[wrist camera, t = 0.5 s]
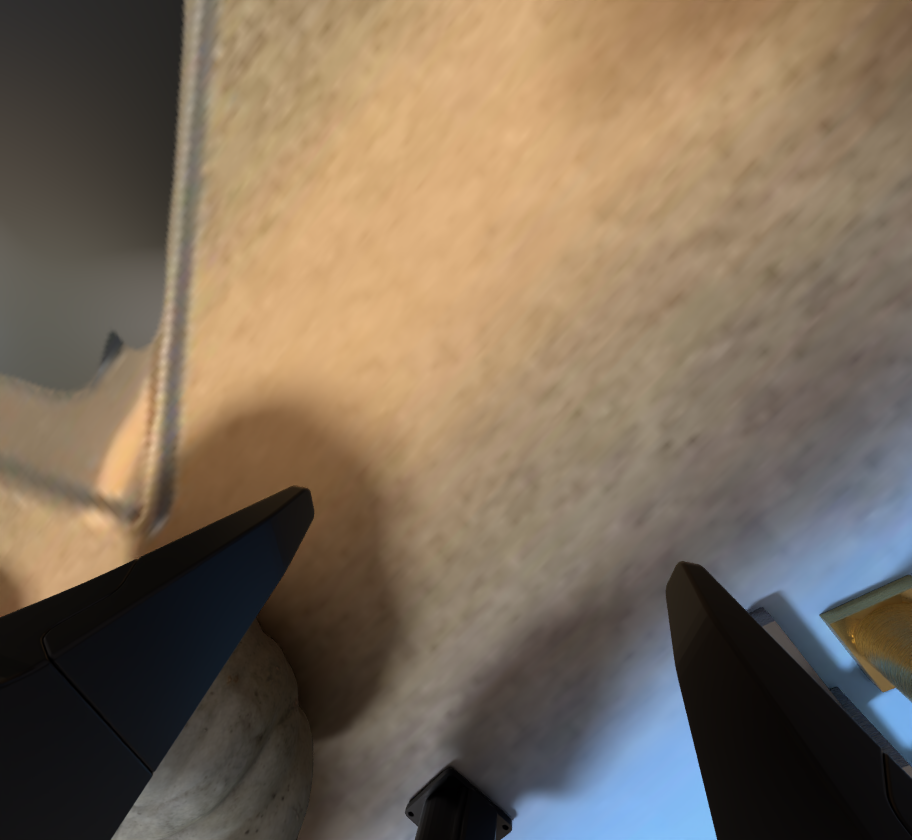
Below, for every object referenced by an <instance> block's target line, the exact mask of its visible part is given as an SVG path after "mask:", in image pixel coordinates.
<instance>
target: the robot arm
mask: <svg viewBox="0 0 912 840" xmlns="http://www.w3.org/2000/svg"><path fill="white" fill-rule="evenodd" d="M313 518H314V507H313V502H312V497H311V492H310V490H309V489H308V488H305V487H300V486H291V487H289V488H287V489H285V490H283V491H281V492H278V493H276V494H274V495H272V496H270V497H268V498H266V499H263V500H261V501H259V502H257V503H255V504H253V505H251V506H248V507H246V508H244V509H242V510H240V511H238V512H236V513H234V514H231V515H229V516H227V517H225V518H223V519H221V520H219V521H216V522H214V523H212V524H210V525H208V526H206V527H204V528H201V529H199V530H197V531H195V532H193V533H191V534H189V535H186V536H184V537H182V538H180V539H178V540H176V541H174V542H171V543H169V544H167V545H165V546H163V547H161V548H159V549H156V550H154V551H152V552H150V553H148V554H146V555H144V556H141V557H140V558H139V559H135V560H133V561H131V562H129V563H126V564H124V565H122V566H120V567H118V568H116V569H114V570H111V571H109V572H107V573H105V574H102V575H100V576H98V577H96V578H94V579H91V580H89V581H87V582H85V583H82V584H80V585H78V586H75V587H73V588H71V589H68V590H66V591H63V592H61V593H59V594H56V595H54V596H52V597H49V598H47V599H44V600H42V601H39V602H37V603H34V604H32V605H30V606H27V607H25V608H22V609H20V610H17V611H15V612H13V613H10V614H8V615H5V616H3V617H0V840H111V839H112V837H113V836H114V834H115V833H116V831H117V830H118V828H119V826H120V825H121V823H122V822H123V820H124V819H125V817H126V816H127V814H128V813H129V811H130V810H131V808H132V807H133V805H134V804H135V802H136V800H137V799H138V797H139V796H140V794H141V793H142V791H143V790H144V788H145V787H146V785H147V784H148V782H149V781H150V779H151V778H152V776H153V772H155V771H156V769H157V768H158V766H159V765H160V763H161V762H162V760H163V759H164V757H165V756H166V754H167V753H168V751H169V750H170V748H171V746H172V745H173V743H174V742H175V740H176V739H177V737H178V736H179V734H180V733H181V731H182V730H183V728H184V727H185V725H186V724H187V722H188V720H189V719H190V717H191V716H192V714H193V713H194V711H195V710H196V708H197V707H198V705H199V704H200V702H201V701H202V699H203V698H204V696H205V694H206V693H207V691H208V690H209V688H210V687H211V685H212V684H213V682H214V681H215V679H216V678H217V676H218V675H219V673H220V672H221V670H222V668H223V667H224V665H225V664H226V662H227V661H228V659H229V658H230V656H231V655H232V653H233V652H234V650H235V649H236V647H237V646H238V644H239V642H240V641H241V639H242V638H243V636H244V635H245V633H246V632H247V630H248V629H249V627H250V626H251V624H252V623H253V621H254V620H255V618H256V616H257V615H258V613H259V612H260V610H261V609H262V607H263V606H264V604H265V603H266V601H267V600H268V598H269V597H270V595H271V594H272V592H273V590H274V589H275V587H276V586H277V584H278V583H279V581H280V580H281V578H282V577H283V575H284V573H285V572H286V570H287V568H288V566H289V565H290V563H291V561H292V559H293V557H294V555H295V553H296V551H297V549H298V547H299V545H300V544H301V542H302V540H303V538H304V536H305V534H306V532H307V530H308V528H309V526H310V524H311V522H312V520H313ZM666 600H667V608H668V616H669V623H670V631H671V638H672V646H673V654H674V660H675V666H676V671H677V676H678V681H679V685H680V689H681V693H682V697H683V701H684V705H685V709H686V713H687V717H688V722H689V726H690V730H691V734H692V738H693V742H694V746H695V750H696V754H697V759H698V763H699V767H700V771H701V775H702V779H703V783H704V787H705V791H706V796H707V800H708V804H709V808H710V812H711V816H712V820H713V824H714V828H715V832H716V837H717V840H912V778H911V777H910V776H909V775H908V774H907V773H906V772H905V771H904V770H903V769H902V768H901V767H900V766H899V765H898V764H897V763H896V762H895V761H894V760H893V759H892V758H891V757H890V756H889V755H888V754H886V753H883V751H882V748H881V747H880V746H879V745H878V744H877V743H876V742H875V741H874V740H873V739H872V738H871V737H870V736H869V735H868V734H867V733H866V732H865V731H864V730H863V728H862V727H861V726H860V725H859V724H858V723H857V722H856V721H855V720H854V719H853V718H852V717H851V716H850V715H849V714H848V713H847V712H846V711H845V710H844V709H843V708H842V707H841V706H840V705H839V704H838V703H837V702H836V701H835V700H834V699H833V698H832V697H831V696H830V695H829V694H828V693H827V692H826V691H825V690H824V689H823V688H822V687H821V686H820V685H819V684H818V683H817V682H816V681H815V680H814V679H813V678H812V677H811V676H810V675H809V674H808V673H807V672H806V671H805V670H804V669H803V668H802V667H801V666H800V665H799V664H798V663H797V662H796V661H795V660H794V659H793V658H792V657H791V656H790V655H789V654H788V652H787V651H786V650H785V649H784V648H783V647H782V646H781V645H780V644H779V643H778V642H777V641H776V640H775V639H774V638H773V637H772V636H771V635H770V634H769V633H768V632H767V631H766V630H765V629H764V628H763V627H762V626H761V625H760V624H759V623H758V622H757V621H756V620H755V619H754V618H753V617H752V616H751V615H750V614H749V613H748V612H747V611H746V610H745V609H744V608H743V607H742V606H741V605H740V604H739V603H738V602H737V601H736V600H735V599H734V598H733V597H732V596H731V595H730V594H729V593H728V592H727V591H726V590H725V589H724V588H723V587H722V586H721V585H720V584H719V583H718V582H717V581H716V580H715V579H714V578H713V576H712V575H711V574H710V573H709V572H708V571H707V570H706V569H705V568H703V567H702V566H701V565H699V564H694V563H689V562H684V561H680V562H679V563H678V564H677V565H676V567H675V569H674V571H673V573H672V575H671V577H670V579H669V581H668V583H667V587H666ZM405 814H406V816H407V817H408V818H409V819H410V820H411V821H412V822H414V823H415V824H416V825H417V826H418V829H417V833H416V837H415V840H501V839H502V838H503V837H505V836H506V835H507V834H509V833H510V832H511V831H512V820H511V819H510V818H509V817H508V816H507V815H506V814H505V813H504V812H502V811H501V810H500V809H499V808H498V807H497V806H495V805H494V804H493V803H492V802H491V801H490V800H489V799H487V798H486V797H485V796H484V795H483V794H482V793H481V792H479V791H478V790H477V789H476V788H475V787H474V786H472V785H471V784H470V783H469V782H468V781H467V780H466V779H464V778H463V777H462V776H461V775H460V774H459V773H458V772H456V771H455V770H454V769H452V768H447V769H446V770H445V771H444V772H442V773H441V774H440V775H439V776H438V777H437V778H436V779H435V780H434V781H433V782H432V783H430V784H429V785H428V786H427V787H426V788H425V789H424V790H423V791H422V792H421V793H420V794H418V795H417V796H416V797H415V798H414V799H413V800H412V801H411V802H410V803H409V804H408V805H407V807H406V811H405Z"/></svg>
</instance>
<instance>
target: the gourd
mask: <svg viewBox="0 0 912 840" xmlns="http://www.w3.org/2000/svg"><path fill="white" fill-rule="evenodd" d="M298 704H299V701H298V686H297V681H296V678H295V676H294V673H293V670H292V668H291V666H290V664H289V663H288V662H287V660H286V659H285V656H284V654H283V651H282V650H281V648H280V647H279V646H278V645H277V644H276V642H275V641H274V640H273V639H272V638H270V637H268V636H267V635H265V634H264V632H263V631H262V630H261V628H260V625H259V623H258V621H257V619H256V618H255V620H254V621H253V623H252V624H251V626H250V627H249V629H248V630H247V632H246V633H245V635H244V636H243V638H242V639H241V641H240V642H239V644H238V646H237V647H236V649H235V650H234V652H233V653H232V655H231V656H230V658H229V659H228V661H227V662H226V664H225V665H224V667H223V668H222V670H221V672H220V673H219V675H218V676H217V678H216V679H215V681H214V682H213V684H212V685H211V687H210V688H209V690H208V691H207V693H206V694H205V696H204V698H203V699H202V701H201V702H200V704H199V705H198V707H197V708H196V710H195V711H194V713H193V714H192V716H191V717H190V719H189V720H188V722H187V724H186V725H185V727H184V728H183V730H182V731H181V733H180V734H179V736H178V737H177V739H176V740H175V742H174V743H173V745H172V746H171V748H170V750H169V751H168V753H167V754H166V756H165V757H164V759H163V760H162V762H161V763H160V765H159V766H158V768H157V769H156V771H155V772H153V776H152V778H151V779H150V781H149V782H148V784H147V785H146V787H145V788H144V790H143V791H142V793H141V794H140V796H139V797H138V799H137V800H136V802H135V804H134V805H133V807H132V808H131V810H130V811H129V813H128V814H127V816H126V817H125V819H124V820H123V822H122V823H121V825H120V826H119V828H118V830H117V831H116V833H115V834H114V836H113V837H112V839H111V840H297V837H298V833H299V831H300V828H301V826H302V823H303V820H304V817H305V814H306V811H307V807H308V802H309V797H310V791H311V784H312V773H313V740H312V735H311V730H310V726H309V722H308V719H307V717H306V715H305V713H304V712H303V711H302V709H301V708H300V706H299V705H298Z"/></svg>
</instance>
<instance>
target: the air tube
mask: <svg viewBox="0 0 912 840" xmlns="http://www.w3.org/2000/svg"><path fill="white" fill-rule="evenodd" d="M819 616H820V617H821V618H822V620H823V621H824V622H825V623H826V625H827V626H828V627H829V628H830V630H831V631H832V632H833V634H834V635H835V636H836V637H837V639H838V640H839V641H840V642H841V644H842V645H843V646H844V647H845V649H846V650H847V651H848V653H849V654H850V655H851V656H852V658H853V659H854V660H855V661H856V663H857V664H858V665H859V667H860V668H861V669H862V670H863V672H864V673H865V674H866V675H867V677H868V678H869V679H870V681H871V682H872V683H874V684H875V685H876V686H877V687H878V688H879V689H880V690H881V691H882V692H886V691H888V690H891V689H893V688H897V689H898V690H899V691H900V692H901V693H902V694H903V695H904V696H905V697H906V698H908V699H909V700H910V701H911V702H912V576H910V575H907V576H905V577H902V578H900V579H898V580H896V581H894V582H891V583H889V584H887V585H885V586H883V587H880V588H878V589H876V590H874V591H872V592H869V593H867V594H865V595H863V596H860V597H858V598H856V599H854V600H852V601H849V602H847V603H845V604H843V605H841V606H838V607H836V608H834V609H832V610H830V611H827V612H825V613H823V614H821V615H819Z"/></svg>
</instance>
